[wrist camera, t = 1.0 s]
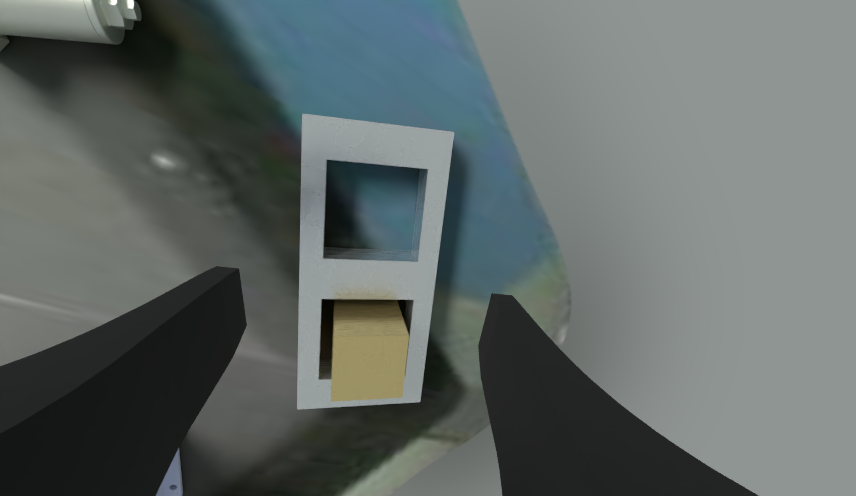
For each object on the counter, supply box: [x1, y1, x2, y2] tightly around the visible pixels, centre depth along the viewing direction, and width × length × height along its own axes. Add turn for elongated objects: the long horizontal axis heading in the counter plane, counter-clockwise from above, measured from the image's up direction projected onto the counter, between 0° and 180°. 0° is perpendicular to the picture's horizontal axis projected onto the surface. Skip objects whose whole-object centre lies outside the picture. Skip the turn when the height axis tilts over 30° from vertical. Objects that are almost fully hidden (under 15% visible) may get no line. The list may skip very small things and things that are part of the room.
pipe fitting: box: [0, 0, 141, 52], centre depth 18 cm, size 8×4×7 cm
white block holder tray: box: [297, 114, 454, 409], centre depth 26 cm, size 20×9×2 cm, turn 174°
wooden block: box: [331, 299, 409, 402], centre depth 26 cm, size 4×4×6 cm
